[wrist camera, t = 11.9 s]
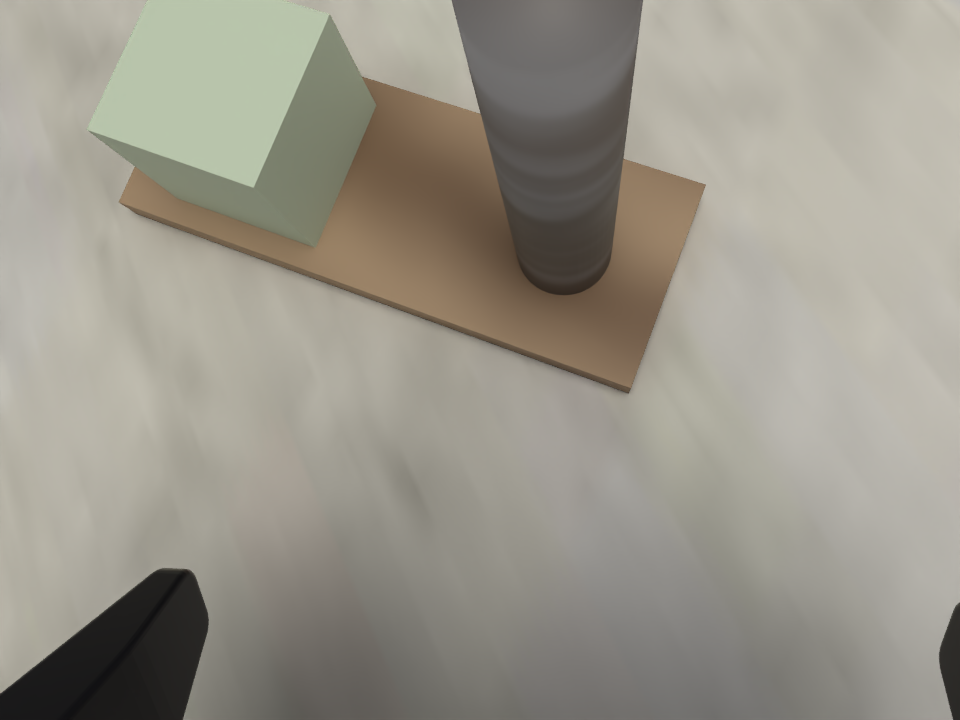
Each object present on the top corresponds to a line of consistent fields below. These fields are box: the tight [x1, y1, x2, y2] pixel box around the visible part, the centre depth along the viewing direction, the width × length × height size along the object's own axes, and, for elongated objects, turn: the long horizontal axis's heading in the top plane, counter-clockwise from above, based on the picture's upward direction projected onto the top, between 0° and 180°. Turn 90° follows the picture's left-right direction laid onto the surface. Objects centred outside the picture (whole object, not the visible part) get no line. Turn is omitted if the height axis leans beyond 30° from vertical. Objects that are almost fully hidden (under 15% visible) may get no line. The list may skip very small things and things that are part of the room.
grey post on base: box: [119, 0, 706, 393], centre depth 18 cm, size 6×16×13 cm, turn 69°
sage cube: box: [87, 0, 376, 248], centre depth 22 cm, size 5×5×5 cm
